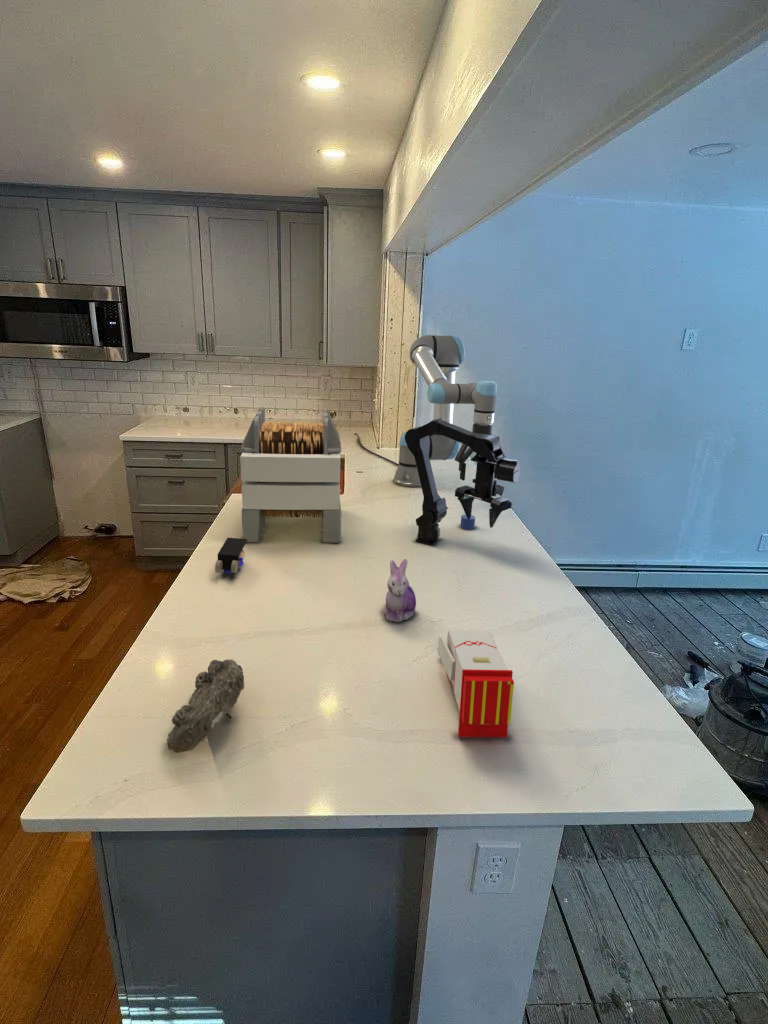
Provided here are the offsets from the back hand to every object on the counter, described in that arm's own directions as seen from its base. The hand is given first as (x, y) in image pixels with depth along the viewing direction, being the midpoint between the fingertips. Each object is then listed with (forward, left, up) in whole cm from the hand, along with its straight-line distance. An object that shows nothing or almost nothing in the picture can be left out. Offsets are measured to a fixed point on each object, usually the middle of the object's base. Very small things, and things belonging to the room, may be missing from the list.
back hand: (478, 478), depth 218 cm
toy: (+99, -52, -15) cm, 113 cm away
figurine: (+66, -56, -15) cm, 87 cm away
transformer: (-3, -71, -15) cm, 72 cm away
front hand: (+36, -18, -4) cm, 40 cm away
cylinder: (+13, -9, -15) cm, 21 cm away
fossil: (+93, -104, -15) cm, 140 cm away
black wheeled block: (+29, -95, -15) cm, 100 cm away
